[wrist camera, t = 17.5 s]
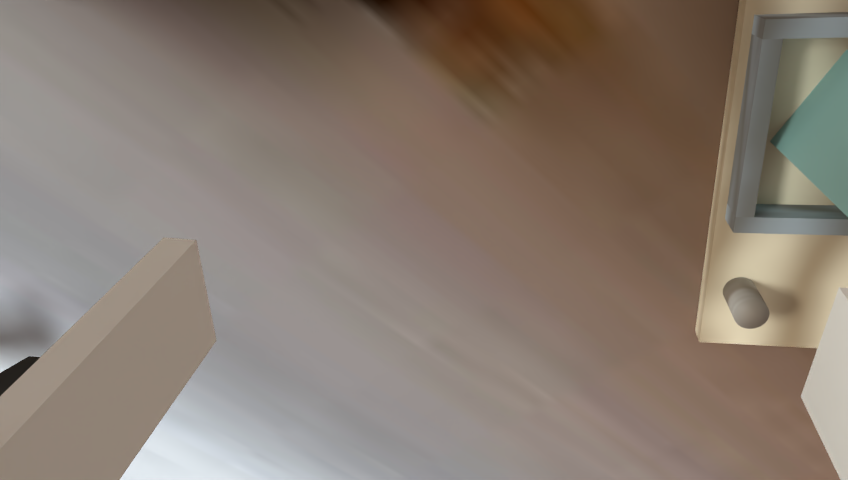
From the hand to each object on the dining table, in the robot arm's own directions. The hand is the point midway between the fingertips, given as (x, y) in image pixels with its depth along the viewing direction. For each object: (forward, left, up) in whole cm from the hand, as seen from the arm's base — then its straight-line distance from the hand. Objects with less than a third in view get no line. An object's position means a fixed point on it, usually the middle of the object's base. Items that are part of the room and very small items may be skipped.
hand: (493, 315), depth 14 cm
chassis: (+18, -7, -30) cm, 36 cm away
